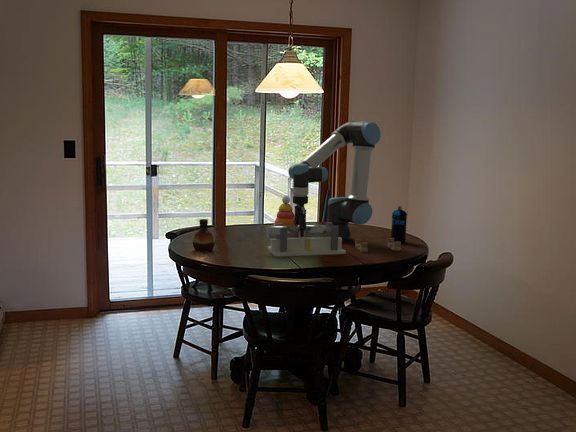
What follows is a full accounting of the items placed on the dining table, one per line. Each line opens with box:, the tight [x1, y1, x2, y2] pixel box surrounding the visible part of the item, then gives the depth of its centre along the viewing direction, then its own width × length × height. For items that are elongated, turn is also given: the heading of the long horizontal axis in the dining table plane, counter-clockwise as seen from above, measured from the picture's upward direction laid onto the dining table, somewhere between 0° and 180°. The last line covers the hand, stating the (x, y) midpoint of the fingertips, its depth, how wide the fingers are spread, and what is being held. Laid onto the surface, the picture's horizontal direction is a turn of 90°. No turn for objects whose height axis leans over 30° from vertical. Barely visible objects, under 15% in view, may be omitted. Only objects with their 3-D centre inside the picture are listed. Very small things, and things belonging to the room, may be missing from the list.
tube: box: [266, 224, 332, 240], centre depth 307 cm, size 32×6×6 cm, turn 104°
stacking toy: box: [273, 195, 295, 226], centre depth 371 cm, size 14×14×20 cm
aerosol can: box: [390, 205, 408, 244], centre depth 335 cm, size 8×8×20 cm
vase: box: [191, 218, 216, 253], centre depth 305 cm, size 11×11×15 cm
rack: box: [354, 237, 402, 253], centre depth 318 cm, size 10×21×4 cm, turn 104°
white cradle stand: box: [267, 221, 347, 257], centre depth 308 cm, size 16×36×14 cm, turn 104°
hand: (299, 241), depth 308 cm, fingers closed on tube, 6 cm apart
